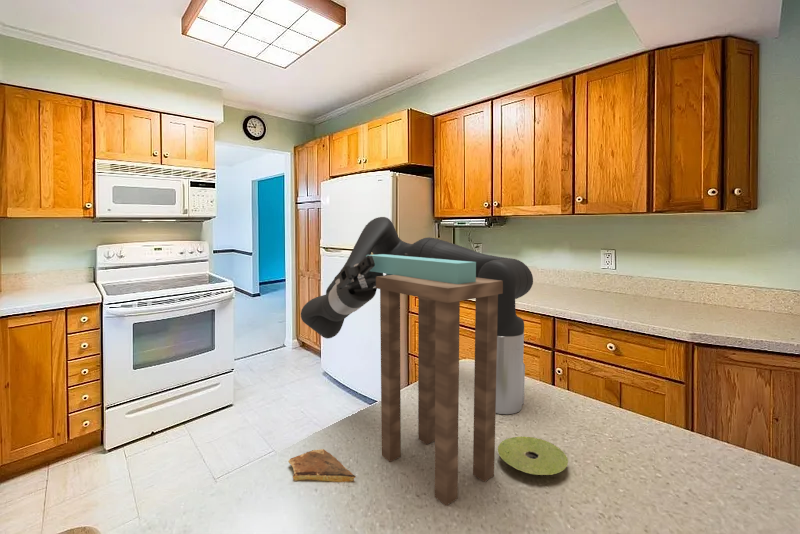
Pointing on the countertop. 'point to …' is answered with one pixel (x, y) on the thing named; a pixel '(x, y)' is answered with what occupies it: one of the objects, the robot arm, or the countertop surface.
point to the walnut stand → (441, 372)
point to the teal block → (426, 268)
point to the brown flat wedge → (319, 467)
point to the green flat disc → (533, 455)
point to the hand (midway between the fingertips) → (390, 258)
